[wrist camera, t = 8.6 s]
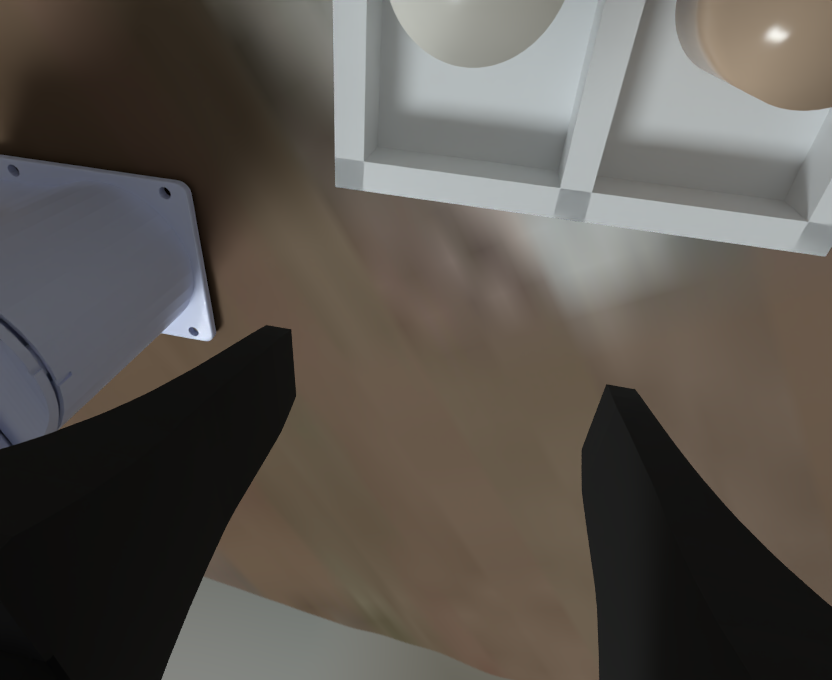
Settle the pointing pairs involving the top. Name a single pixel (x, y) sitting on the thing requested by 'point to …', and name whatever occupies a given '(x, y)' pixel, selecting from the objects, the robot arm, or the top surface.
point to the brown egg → (763, 47)
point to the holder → (580, 130)
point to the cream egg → (475, 27)
